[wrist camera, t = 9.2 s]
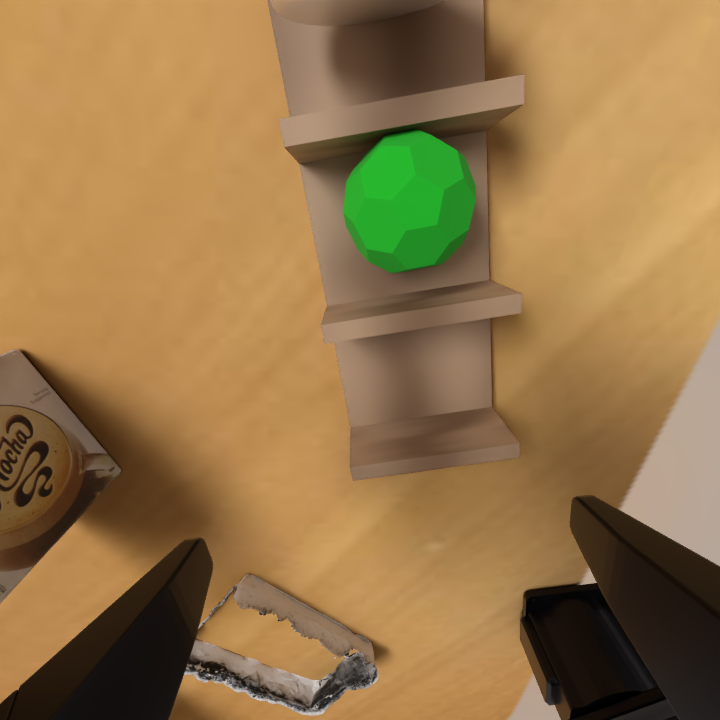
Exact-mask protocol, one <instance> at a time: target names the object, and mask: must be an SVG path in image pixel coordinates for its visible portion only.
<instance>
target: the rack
mask: <svg viewBox="0 0 720 720" xmlns="http://www.w3.org/2000/svg"><path fill="white" fill-rule="evenodd" d="M268 5H269V10H270V15H271V21H272V26H273V31H274V36H275V41H276V46H277V51H278V57H279V62H280V67H281V72H282V77H283V82H284V87H285V93H286V98H287V103H288V108H289V113H290V117H288V118H283V119H279V124H280V129H281V133H282V138H283V143H284V147H285V148H286V149H287V151H288V152H289V153H290V154H291V155H292V156H293V157H294V158H295V159H296V160H297V162H298V163H299V164H300V170H301V175H302V180H303V185H304V190H305V195H306V200H307V206H308V211H309V216H310V221H311V226H312V231H313V236H314V242H315V247H316V252H317V257H318V262H319V267H320V272H321V277H322V283H323V288H324V293H325V298H326V303H327V307H326V311H325V314H324V317H323V320H322V323H321V328H322V333H323V338H324V343H325V344H326V343H333V342H334V344H335V349H336V355H337V360H338V365H339V370H340V375H341V380H342V385H343V390H344V396H345V401H346V406H347V411H348V416H349V421H350V426H351V439H350V469H351V474H352V479H353V481H355V480H362V479H369V478H377V477H384V476H391V475H398V474H405V473H413V472H420V471H427V470H434V469H441V468H449V467H456V466H463V465H470V464H477V463H485V462H492V461H499V460H506V459H513V458H520V443H519V442H518V440H517V439H516V438H515V436H514V435H513V434H512V433H511V431H510V430H509V429H508V427H507V426H506V425H505V423H504V422H503V421H502V419H501V418H500V417H499V415H498V414H497V413H496V411H495V410H494V409H493V407H492V381H491V334H490V318H493V317H500V316H506V315H513V314H519V313H521V311H522V293H520V292H517V291H515V290H512V289H510V288H508V287H505V286H503V285H500V284H498V283H496V282H493V281H491V280H489V240H488V193H487V146H486V130H488V129H489V128H490V127H492V126H493V125H495V124H496V123H498V122H499V121H500V120H502V119H503V118H505V117H506V116H508V115H509V114H510V113H512V112H513V111H515V110H516V109H518V108H519V107H520V106H522V105H523V104H524V74H523V75H517V76H512V77H506V78H501V79H496V80H490V81H485V51H484V4H483V0H446V1H443V2H441V3H439V4H436V5H433V6H430V7H428V8H425V9H422V10H419V11H416V12H412V13H409V14H405V15H402V16H398V17H394V18H390V19H385V20H380V21H375V22H369V23H362V24H355V25H344V26H316V25H307V24H301V23H297V22H293V21H291V20H288V19H286V18H284V17H282V16H280V15H279V14H278V13H277V12H276V11H275V10H274V8H273V7H272V4H271V0H268ZM415 128H416V129H418V130H421V131H423V132H425V133H428V134H430V135H432V136H434V137H435V138H437V139H439V140H441V141H442V142H444V143H446V144H447V145H449V146H451V147H452V148H454V149H456V150H457V151H459V152H460V153H461V154H462V155H463V156H464V157H465V158H466V161H467V163H468V166H469V169H470V171H471V174H472V177H473V179H474V182H475V185H476V201H475V205H474V209H473V214H472V218H471V222H470V226H469V230H468V233H467V235H466V237H465V240H464V242H463V244H462V245H461V246H460V247H459V248H458V249H457V250H456V251H455V252H454V253H453V254H452V255H451V256H450V257H449V258H448V259H447V260H446V261H445V262H444V263H443V264H440V265H436V266H432V267H428V268H423V269H417V270H412V271H407V272H401V273H390V272H388V271H386V270H384V269H382V268H380V267H378V266H376V265H374V264H372V263H370V262H368V261H367V260H366V259H365V257H364V256H363V255H362V254H361V253H360V252H359V251H358V249H357V247H356V245H355V243H354V241H353V239H352V237H351V235H350V233H349V231H348V229H347V228H346V224H345V219H344V215H343V208H344V199H345V189H346V181H347V179H348V178H349V176H350V174H351V172H352V170H353V169H354V168H355V167H356V166H357V164H358V163H359V162H360V161H361V160H362V158H363V157H364V156H365V155H366V154H367V152H368V151H369V150H370V149H371V148H372V147H373V146H374V145H375V144H376V143H377V142H378V141H379V140H381V139H382V138H383V137H384V136H385V135H386V134H391V133H396V132H401V131H406V130H410V129H415Z"/></svg>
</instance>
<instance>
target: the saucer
mask: <svg viewBox="0 0 720 720" xmlns="http://www.w3.org/2000/svg"><path fill="white" fill-rule="evenodd" d="M443 1H446V0H271V4H272V7H273V8H274V10H275V11H276V12H277V13H278V14H279V15H280V16H282V17H284V18H286V19H288V20H291V21H293V22H297V23H301V24H307V25H316V26H344V25H355V24H362V23H369V22H375V21H380V20H385V19H390V18H394V17H398V16H402V15H405V14H409V13H412V12H416V11H419V10H422V9H425V8H428V7H430V6H433V5H436V4H439V3H441V2H443Z"/></svg>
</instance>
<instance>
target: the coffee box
mask: <svg viewBox="0 0 720 720" xmlns="http://www.w3.org/2000/svg"><path fill="white" fill-rule="evenodd" d="M120 473H121V469H120V468H119V466H118V465H117V464H116V463H115V462H114V460H113V459H112V458H111V457H110V456H109V455H108V453H107V452H106V451H105V450H104V449H103V448H102V446H101V445H100V444H99V443H98V442H97V441H96V439H95V438H94V437H93V436H92V435H91V433H90V432H89V431H88V430H87V429H86V428H85V426H84V425H83V424H82V423H81V422H80V421H79V419H78V418H77V417H76V416H75V415H74V413H73V412H72V411H71V410H70V409H69V408H68V406H67V405H66V404H65V403H64V402H63V401H62V399H61V398H60V397H59V396H58V395H57V394H56V392H55V391H54V390H53V389H52V388H51V387H50V385H49V384H48V383H47V382H46V381H45V380H44V378H43V377H42V376H41V375H40V374H39V373H38V371H37V370H36V369H35V368H34V367H33V365H32V364H31V363H30V362H29V361H28V360H27V358H26V357H25V356H24V355H23V354H22V353H21V351H20V350H17V349H15V350H12V351H9V352H7V353H4V354H2V355H0V603H1V602H2V601H3V600H4V599H5V598H6V597H7V596H8V595H9V593H10V592H11V591H12V590H13V589H14V588H15V587H16V586H17V585H18V584H19V583H20V581H21V580H22V579H23V578H24V577H25V576H26V575H27V574H28V573H29V572H30V571H31V569H32V568H33V567H34V566H35V565H36V564H37V563H38V562H39V560H40V559H41V558H42V557H43V556H44V555H45V554H46V553H47V552H48V551H49V550H50V549H51V547H52V546H53V545H54V544H55V543H56V542H57V541H58V540H59V539H60V538H61V537H62V536H63V535H64V534H65V533H66V531H67V530H68V529H69V528H70V527H71V526H72V525H73V524H74V523H75V522H76V520H77V519H78V518H79V517H80V516H81V515H82V514H83V513H84V512H85V511H86V510H87V508H88V507H89V506H90V505H91V504H92V503H93V502H94V501H95V500H96V499H97V498H98V496H99V495H100V494H101V493H102V492H103V491H104V490H105V489H106V488H107V487H108V486H109V484H110V483H111V482H112V481H113V480H114V479H115V478H116V477H117V476H119V475H120Z"/></svg>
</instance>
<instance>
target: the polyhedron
mask: <svg viewBox="0 0 720 720" xmlns="http://www.w3.org/2000/svg"><path fill="white" fill-rule="evenodd" d="M475 201H476V185H475V182H474V179H473V177H472V174H471V171H470V169H469V166H468V163H467V161H466V158H465V157H464V156H463V155H462V154H461V153H460V152H459V151H457V150H456V149H454V148H452V147H451V146H449V145H447V144H446V143H444V142H442V141H441V140H439V139H437V138H435V137H434V136H432V135H430V134H428V133H425V132H423V131H421V130H418V129H416V128H415V129H410V130H406V131H401V132H396V133H391V134H386V135H385V136H384V137H383V138H382V139H381V140H379V141H378V142H377V143H376V144H375V145H374V146H373V147H372V148H371V149H370V150H369V151H368V152H367V154H366V155H365V156H364V157H363V158H362V160H361V161H360V162H359V163H358V164H357V166H356V167H355V168H354V169H353V170H352V172H351V174H350V176H349V178H348V179H347V181H346V189H345V199H344V208H343V215H344V219H345V224H346V228H347V229H348V231H349V233H350V235H351V237H352V239H353V241H354V243H355V245H356V247H357V249H358V251H359V252H360V253H361V254H362V255H363V256H364V257H365V259H366V260H367V261H368V262H370V263H372V264H374V265H376V266H378V267H380V268H382V269H384V270H386V271H388V272H390V273H401V272H407V271H412V270H417V269H423V268H428V267H432V266H436V265H440V264H443V263H444V262H445V261H446V260H447V259H448V258H449V257H450V256H451V255H452V254H453V253H454V252H455V251H456V250H457V249H458V248H459V247H460V246H461V245H462V244H463V242H464V240H465V237H466V235H467V233H468V230H469V226H470V222H471V218H472V214H473V209H474V205H475Z"/></svg>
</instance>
